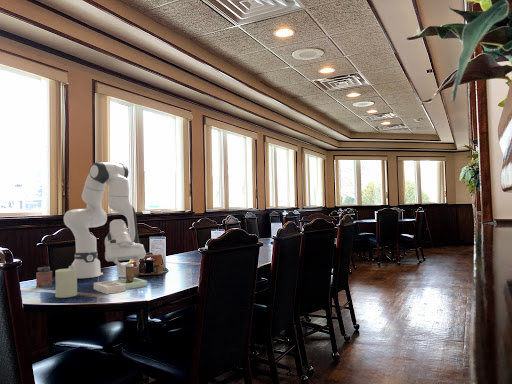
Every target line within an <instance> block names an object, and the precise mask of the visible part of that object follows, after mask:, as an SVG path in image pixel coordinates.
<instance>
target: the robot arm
mask: <svg viewBox="0 0 512 384" xmlns="http://www.w3.org/2000/svg"><path fill="white" fill-rule="evenodd" d="M129 173H130V171H129V167H128V166H127V165H125V164H123V163H121V162H119V163H117V162H111V161H107V162H106V161H104V162H103V161H96V162H94V163H92V164H91V165H90V168H89V173H88V174H87V177H86V179H85V181H84V186H83V189H82V193H81V199H82V201H83V203H85V204H86V207H85V208H75V209H70V210H67V211H66V212H65V213H64V215H63V224H64V225H65V226H66V227H67V228H68V229H70V231H71V232H72V234H73V236H74V239H75V241H74V242H75V253H74V260H73V262H72V263H71V265H68V269H69V268H75V269H77V279H89V278H96V277H100V276H103V275H104V272H101V261H100V259H98V255H99V254H98V251H97V237H96V236H95V235H93V233H91V232H90V228H98V227H102V226H104V225H105V224H106V223H107V221H108V214H107V212H106V211H105V210H104V208H103V203H102V202H103V196H104V194H105V191H106V186H107V187H108V188H107V205H108V207H109V209H111V210H112V211H113V212H115V213H118V214H120V215H123V216H124V217H125V219H126V221H127V223H126V222H125V221H124V220H123V219H121V218H120V219H116V218H115V219H113V220H112V221H110V222H109V232H108V233H107V234H106V236H105V237H104V240H103V241H104V247H105V249H104V250H105V252H104V259H105V261H107V262H113V263H114V264H115V265H116V267H117V268H121V267H122V264H121V262H122V261H128V260H131V261H132V260H136V261H135V265H136V266H139V264H140V262H139V260H140V259H143V258H144V257H145V256H146V255H147V252H146V250H145V246H144V244H142V243H140V238H139V232H138V231H139V230H138V223H137V215H136V214H137V213H136V210H135V206H134V205H132V204H131V201H130V197H129V196H130V187H129V180H128V177H129ZM120 261H121V262H120Z"/></svg>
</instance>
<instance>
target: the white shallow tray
mask: <svg viewBox="0 0 512 384" xmlns="http://www.w3.org/2000/svg"><path fill="white" fill-rule="evenodd" d="M93 290H95V291H97V292H99V293H100V292H101V293H103V294H106V295H109V294H114V293H115V294H116V293H120V292H125V291H126V289H125V284H122V283H118V282H115V281H114V280H106V281H99V282H93Z"/></svg>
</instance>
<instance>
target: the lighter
mask: <svg viewBox="0 0 512 384" xmlns="http://www.w3.org/2000/svg"><path fill="white" fill-rule="evenodd" d="M37 271H38V272H36V273H35V275H36V278H35V279H36V283H35V288H36V289H42V288H48V287H53V270H51V267H50V266H43V267H37Z"/></svg>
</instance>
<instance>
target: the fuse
mask: <svg viewBox="0 0 512 384" xmlns="http://www.w3.org/2000/svg"><path fill="white" fill-rule="evenodd" d="M124 267H125V279H126V283H133V278H134V267H135V265H134V264H133V263H130V264H129V263H128V264H124ZM126 283H125V284H126Z"/></svg>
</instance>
